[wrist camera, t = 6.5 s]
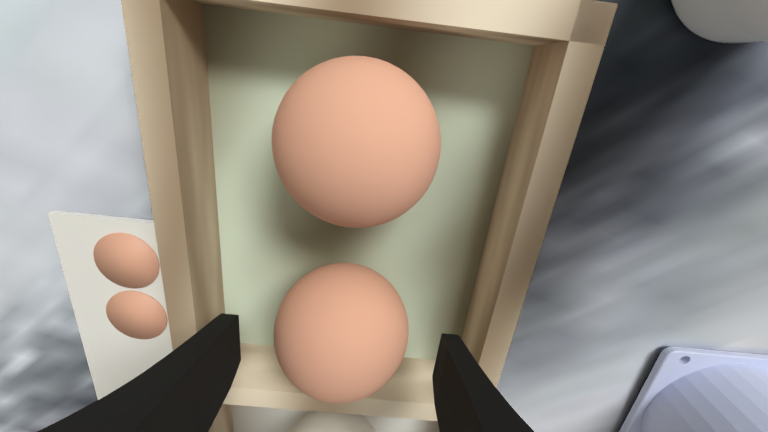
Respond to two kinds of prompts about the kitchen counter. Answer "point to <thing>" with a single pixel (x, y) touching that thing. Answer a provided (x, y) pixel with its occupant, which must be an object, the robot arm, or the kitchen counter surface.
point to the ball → (356, 141)
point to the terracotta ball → (341, 333)
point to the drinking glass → (725, 19)
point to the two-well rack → (370, 244)
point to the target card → (114, 293)
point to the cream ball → (332, 423)
